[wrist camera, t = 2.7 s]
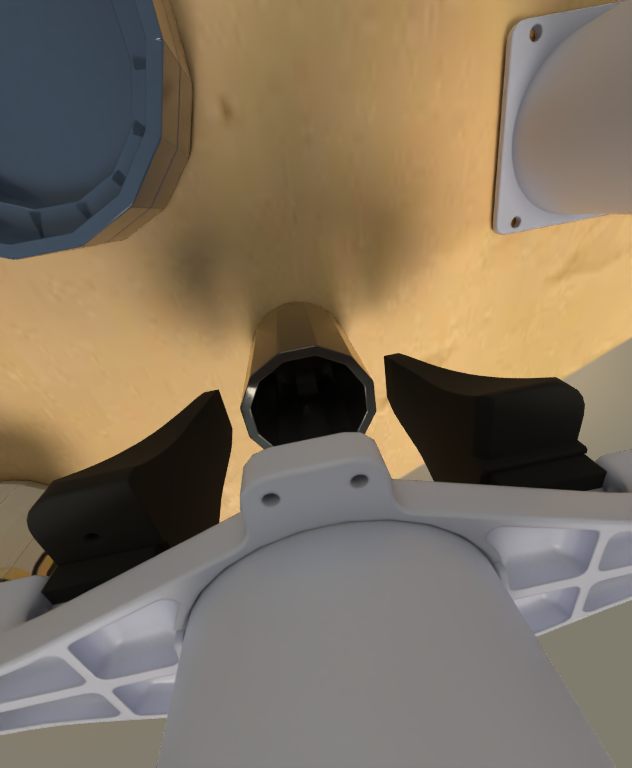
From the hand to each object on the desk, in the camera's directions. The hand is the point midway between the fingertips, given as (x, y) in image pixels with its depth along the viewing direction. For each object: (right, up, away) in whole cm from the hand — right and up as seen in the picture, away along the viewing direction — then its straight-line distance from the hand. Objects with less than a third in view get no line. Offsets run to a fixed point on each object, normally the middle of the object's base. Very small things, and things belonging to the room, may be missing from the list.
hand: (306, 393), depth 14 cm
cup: (-1, +3, +5) cm, 6 cm away
